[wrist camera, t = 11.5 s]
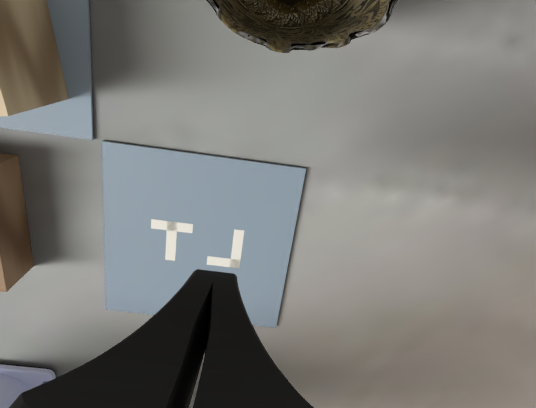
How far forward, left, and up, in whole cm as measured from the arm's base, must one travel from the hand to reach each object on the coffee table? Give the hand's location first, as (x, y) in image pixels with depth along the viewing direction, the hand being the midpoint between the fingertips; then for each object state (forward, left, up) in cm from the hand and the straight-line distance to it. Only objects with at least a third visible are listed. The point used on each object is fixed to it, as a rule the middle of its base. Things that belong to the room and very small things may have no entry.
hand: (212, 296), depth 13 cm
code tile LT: (-4, +2, -10) cm, 11 cm away
